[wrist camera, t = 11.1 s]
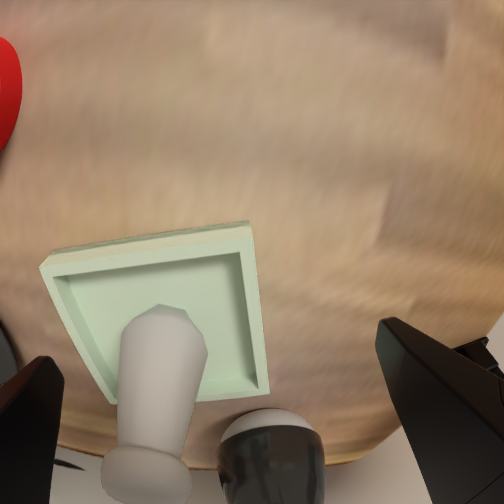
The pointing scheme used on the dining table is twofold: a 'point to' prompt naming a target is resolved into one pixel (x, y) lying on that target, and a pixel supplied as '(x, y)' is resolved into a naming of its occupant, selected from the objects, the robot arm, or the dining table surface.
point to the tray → (166, 301)
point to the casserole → (6, 360)
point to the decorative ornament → (9, 90)
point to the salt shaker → (155, 408)
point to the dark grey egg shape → (271, 460)
